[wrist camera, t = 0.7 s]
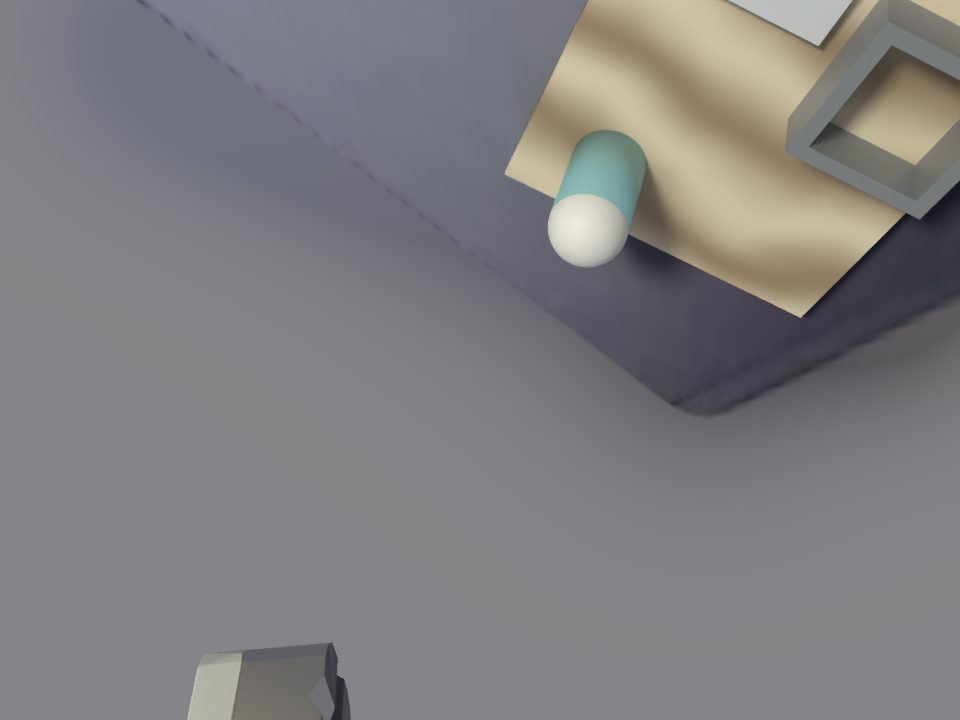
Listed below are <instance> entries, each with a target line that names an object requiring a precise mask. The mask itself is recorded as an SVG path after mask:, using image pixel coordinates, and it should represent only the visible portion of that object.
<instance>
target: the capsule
mask: <svg viewBox="0 0 960 720" xmlns="http://www.w3.org/2000/svg"><path fill="white" fill-rule="evenodd" d="M646 165H647V163H646V157H645V154H644V152H643V150H642V148H641V147H640V146H639V144H638V143H637V142H636V141H635V140H633V139H632V138H631V137H629V136H627V135H626V134H623V133H621V132H617V131H613V130H600V131H595V132H592V133H590V134H587V135H586V136H584V137H583V138H582V139H581V140H580V141H579V142H578V143H577V145H576V146H575V148H574V151H573V153H572V156H571V159H570V162H569V164H568V167H567V170H566V172H565V175H564V178H563V180H562V183H561V186H560V188H559V191H558V194H557V197H556V199H555V202H554V205H553V207H552V210H551V213H550V216H549V220H548V234H549V239H550V241H551V244H552V246H553V248H554V249H555V251H556V252H557V253H558V255H559V256H560V257H562V258H563V259H564V260H566V261H567V262H569V263H571V264H573V265H576V266H580V267H596V266H599V265H602V264H605V263H607V262H609V261H610V260H612V259H613V258H614V257H615V256H616V255H617V254H618V253H619V252H620V251H621V250H622V248H623V246H624V245H625V242H626V240H627V237H628V233H629V230H630V226H631V222H632V219H633V215H634V212H635V208H636V204H637V201H638V197H639V194H640V190H641V186H642V183H643V179H644V175H645V172H646Z"/></svg>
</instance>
